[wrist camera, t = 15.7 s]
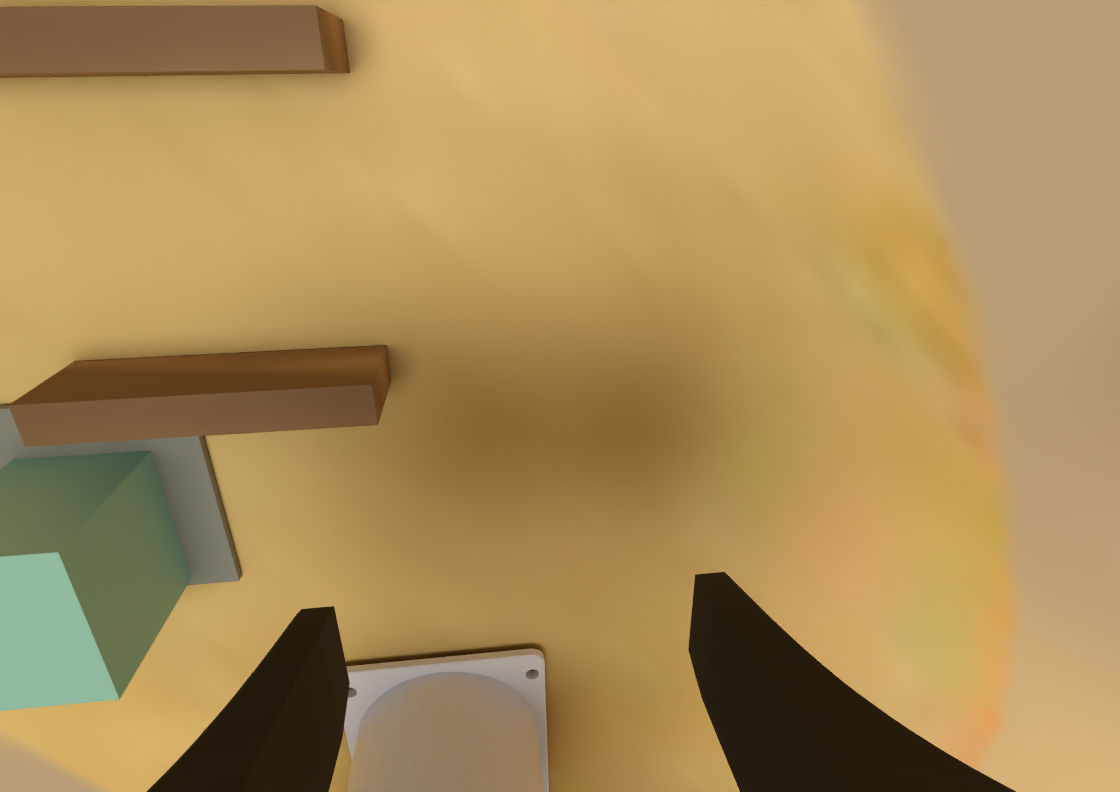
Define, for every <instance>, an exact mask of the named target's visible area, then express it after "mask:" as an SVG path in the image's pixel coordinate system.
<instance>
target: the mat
mask: <svg viewBox="0 0 1120 792" xmlns="http://www.w3.org/2000/svg"><path fill="white" fill-rule="evenodd" d="M8 405H10V404H8ZM8 405H0V469H2V468H3V467H4V466H5V465H7V464H8V463H9V462H10V461H12V460H13V459H26V458H42V457H58V456H73V455H89V454H105V453H120V452H136V451H151V452H152V455H153V458H154V461H155V464H156V467H157V471H158V474H159V477H160V480H161V483H162V486H163V489H164V493H165V496H166V499H167V502H168V505H169V508H170V512H171V515H172V518H173V521H174V524H175V527H176V530H177V534H178V537H179V540H180V543H181V546H182V549H183V552H184V556H185V559H186V562H187V565H188V568H189V571H190V575H191V579H190V581H189V583H188V584H187V585H195V584H207V583H219V582H231V581H239V580H240V578H241V576H242V574H241V570H240V567H239V563H238V560H237V556H236V552H235V549H234V545H233V542H232V538H231V534H230V531H229V527H228V523H227V520H226V516H225V513H224V509H223V505H222V502H221V498H220V495H219V491H218V487H217V484H216V480H215V476H214V473H213V469H212V466H211V462H210V458H209V455H208V451H207V448H206V444H205V440H204V437H203V436H193V437H177V438H161V439H145V440H129V441H113V442H97V443H81V444H65V445H49V446H34V447H25V445H24V443H23V441H22V438H21V436H20V433H19V431H18V428H17V426H16V423H15V421H14V419H13V416H12V414H11V411H10V409H9V406H8Z"/></svg>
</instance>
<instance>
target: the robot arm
mask: <svg viewBox="0 0 1120 792" xmlns="http://www.w3.org/2000/svg"><path fill="white" fill-rule="evenodd" d="M689 653H690V657H691V661H692V664H693V668H694V672H695V676H696V679H697V682H698V686H699V689H700V693H701V696H702V699H703V702H704V704H705V707H706V709H707V712H708V714H709V717H710V719H711V722H712V724H713V727H714V729H715V732H716V734H717V737H718V739H719V742H720V744H721V746H722V749H723V751H724V754H725V756H726V759H727V761H728V763H729V766H730V768H731V771H732V773H733V776H734V778H735V780H736V783H737V785H738V788H739V790H740V792H1016V791H1014V790H1012V789H1010V788H1008V787H1006V786H1004V785H1003V784H1001V783H999V782H997V781H995V780H993V779H992V778H990V777H988V776H986V775H984V774H982V773H981V772H979V771H977V770H975V769H973V768H971V767H970V766H968V765H966V764H965V763H963V762H961V761H959V760H958V759H956V758H954V757H952V756H951V755H949V754H947V753H946V752H944V751H942V750H941V749H939V748H938V747H936V746H934V745H933V744H931V743H930V742H928V741H927V740H925V739H923V738H922V737H920V736H919V735H917V734H915V733H914V732H912V731H911V730H909V729H908V728H906V727H905V726H903V725H902V724H900V723H899V722H897V721H896V720H894V719H893V718H891V717H890V716H888V715H887V714H886V713H884V712H883V711H882V710H880V709H879V708H877V707H876V706H875V705H873V704H872V703H870V702H869V701H868V700H866V699H865V698H864V697H862V696H861V695H859V694H858V693H857V692H855V691H854V690H853V689H852V688H850V687H849V686H848V685H846V684H845V683H844V682H843V681H841V680H840V679H839V678H838V677H836V676H835V675H834V674H833V673H832V672H830V671H829V670H828V669H827V668H826V667H824V666H823V665H822V664H821V663H820V662H818V661H817V660H816V659H815V658H814V657H813V656H812V655H810V654H809V653H808V652H807V651H806V650H805V649H804V648H803V647H802V646H800V645H799V644H798V643H797V642H796V641H795V640H794V639H793V638H792V637H791V636H790V635H788V634H787V633H786V632H785V631H784V630H783V629H782V628H781V627H780V626H779V625H778V624H777V623H776V622H775V621H774V620H773V619H771V618H770V617H769V616H768V615H767V614H766V613H765V612H764V611H763V610H762V609H761V608H760V607H759V606H758V605H757V604H756V603H755V602H754V601H753V600H752V599H751V598H750V597H749V596H748V595H747V594H746V593H745V592H744V591H743V590H742V589H741V588H740V587H739V586H738V585H737V584H736V583H735V582H734V581H733V580H732V579H731V578H730V577H729V576H728V575H727V574H726V573H725V572H720V573H709V574H697V575H695V584H694V595H693V606H692V617H691V628H690V639H689ZM532 669H534V671H529V670H532ZM349 688H354V689H349ZM343 729H345V733H346V738H347V742H348V747H349V752H350V756H351V761H352V766H351V771H350V776H349V781H348V787H347V792H549V778H548V748H547V719H546V689H545V662H544V655H543V653H542V652H541V651H540V650H538V649H521V650H510V651H500V652H490V653H479V654H469V655H459V656H448V657H438V658H427V659H417V660H407V661H396V662H386V663H376V664H365V665H355V666H346V663H345V658H344V653H343V648H342V643H341V638H340V634H339V629H338V624H337V619H336V614H335V609H334V606H333V607H321V608H310V609H301V610H300V611H299V613H298V614H297V615H296V616H295V617H294V619H293V620H292V621H291V623H290V624H289V625H288V627H287V628H286V629H285V631H284V632H283V634H282V635H281V636H280V638H279V639H278V640H277V642H276V643H275V644H274V646H273V647H272V648H271V650H270V651H269V652H268V654H267V655H266V656H265V658H264V659H263V660H262V661H261V663H260V664H259V665H258V667H257V668H256V669H255V671H254V672H253V673H252V674H251V676H250V677H249V678H248V679H247V681H246V682H245V683H244V684H243V686H242V687H241V688H240V689H239V691H238V692H237V693H236V694H235V696H234V697H233V698H232V699H231V700H230V702H229V703H228V704H227V705H226V706H225V708H224V709H223V710H222V711H221V712H220V713H219V715H218V716H217V717H216V718H215V719H214V720H213V721H212V723H211V724H210V725H209V726H208V727H207V728H206V729H205V731H204V732H203V733H202V734H201V735H200V736H199V737H198V739H197V740H196V741H195V742H194V743H193V744H192V745H191V746H190V748H189V749H188V750H187V751H186V752H185V753H184V754H183V755H182V756H181V757H180V758H179V759H178V760H177V761H176V763H175V764H174V765H173V766H172V767H171V768H170V769H169V770H168V771H167V772H166V773H165V774H164V775H163V776H162V777H161V778H160V779H159V780H158V781H157V782H156V783H155V784H154V785H153V786H152V787H151V788H150V789H149V790H148V791H147V792H329V788H330V784H331V780H332V776H333V772H334V768H335V764H336V760H337V756H338V752H339V748H340V744H341V740H342V736H343Z"/></svg>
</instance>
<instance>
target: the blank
mask: <svg viewBox="0 0 1120 792" xmlns="http://www.w3.org/2000/svg"><path fill="white" fill-rule="evenodd" d="M190 579H191V575H190V571H189V568H188V565H187V562H186V559H185V556H184V552H183V549H182V546H181V543H180V540H179V537H178V534H177V530H176V527H175V524H174V521H173V518H172V515H171V512H170V508H169V505H168V502H167V499H166V496H165V493H164V489H163V486H162V483H161V480H160V477H159V474H158V471H157V467H156V464H155V461H154V458H153V455H152V452H151V451H136V452H120V453H105V454H89V455H73V456H58V457H42V458H26V459H13V460H12V461H10V462H9V463H8V464H7V465H5V466H4V467H3V468H2V469H0V711H4V710H15V709H25V708H35V707H45V706H56V705H66V704H76V703H86V702H97V701H107V700H117V699H120V698H121V696H122V694H123V693H124V691H125V689H126V687H127V686H128V684H129V682H130V681H131V679H132V677H133V676H134V674H135V672H136V671H137V669H138V667H139V665H140V664H141V662H142V660H143V659H144V657H145V655H146V654H147V652H148V650H149V649H150V647H151V645H152V644H153V642H154V640H155V638H156V637H157V635H158V633H159V632H160V630H161V628H162V627H163V625H164V623H165V622H166V620H167V618H168V616H169V615H170V613H171V611H172V610H173V608H174V606H175V605H176V603H177V601H178V600H179V598H180V596H181V595H182V593H183V591H184V589H185V588H186V586H187V584H188V583H189V581H190Z"/></svg>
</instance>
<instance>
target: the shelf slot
mask: <svg viewBox="0 0 1120 792" xmlns="http://www.w3.org/2000/svg"><path fill="white" fill-rule="evenodd" d="M306 73H350V72H349V65H348V57H347V50H346V42H345V35H344V27H343V20H342V19H340V18H338V17H336V16H335V15H333V14H331V13H329V12H327V11H325V10H323V9H321V8H319V7H317V6H81V7H0V78H8V77H82V76H157V75H232V74H306ZM390 383H391V377H390V370H389V362H388V355H387V347H386V345H383V346H364V347H345V348H325V349H306V350H287V351H267V352H248V353H229V354H209V355H190V356H171V357H151V358H132V359H113V360H94V361H74V362H73V363H71V364H70V365H68V366H67V367H65V368H64V369H62V370H61V371H59V372H58V373H56V374H55V375H53V376H52V377H50V378H49V379H47V380H46V381H44V382H43V383H41V384H40V385H38V386H37V387H35V388H34V389H32V390H31V391H29V392H28V393H26V394H25V395H23V396H22V397H20V398H19V399H17V400H16V401H14V402H13V403H11V404H10V405H8V406H9V409H10V411H11V414H12V416H13V419H14V421H15V423H16V426H17V428H18V431H19V433H20V436H21V438H22V441H23V443H24V445H25V447H34V446H49V445H65V444H81V443H97V442H113V441H129V440H145V439H161V438H177V437H193V436H208V435H224V434H240V433H256V432H272V431H288V430H304V429H320V428H336V427H352V426H367V425H378V422H379V419H380V416H381V413H382V409H383V406H384V403H385V399H386V396H387V393H388V390H389V386H390Z"/></svg>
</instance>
